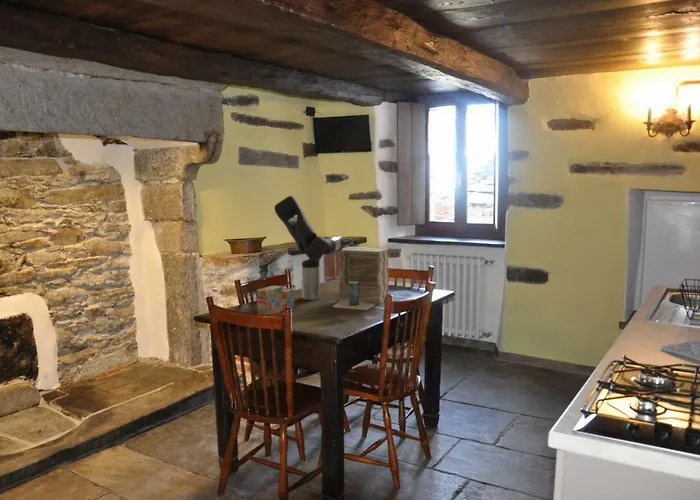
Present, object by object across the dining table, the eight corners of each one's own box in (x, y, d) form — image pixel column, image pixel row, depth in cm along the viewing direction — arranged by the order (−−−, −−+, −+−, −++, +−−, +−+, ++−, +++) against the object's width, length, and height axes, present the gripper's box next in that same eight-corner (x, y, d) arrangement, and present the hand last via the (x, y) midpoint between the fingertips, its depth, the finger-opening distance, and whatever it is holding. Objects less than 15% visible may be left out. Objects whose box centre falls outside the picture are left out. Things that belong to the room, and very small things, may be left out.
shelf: (380, 305, 288) (379, 251, 284) (338, 301, 296) (337, 250, 293) (389, 299, 301) (389, 248, 298) (349, 296, 310) (348, 246, 307)
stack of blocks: (284, 306, 289) (284, 282, 287) (294, 307, 286) (294, 283, 284) (257, 314, 271) (256, 289, 269) (267, 316, 268) (266, 290, 266)
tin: (350, 306, 283) (350, 282, 281) (347, 304, 287) (347, 280, 286) (360, 305, 284) (360, 281, 283) (357, 303, 289) (357, 279, 288)
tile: (366, 309, 277) (366, 308, 277) (333, 307, 284) (333, 305, 284) (374, 305, 288) (374, 303, 287) (341, 302, 294) (341, 301, 294)
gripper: (347, 236, 256) (360, 233, 271) (318, 235, 261) (333, 232, 276) (347, 253, 257) (360, 248, 272) (318, 252, 262) (333, 247, 277)
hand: (346, 240), depth 274 cm, fingers open, 8 cm apart
